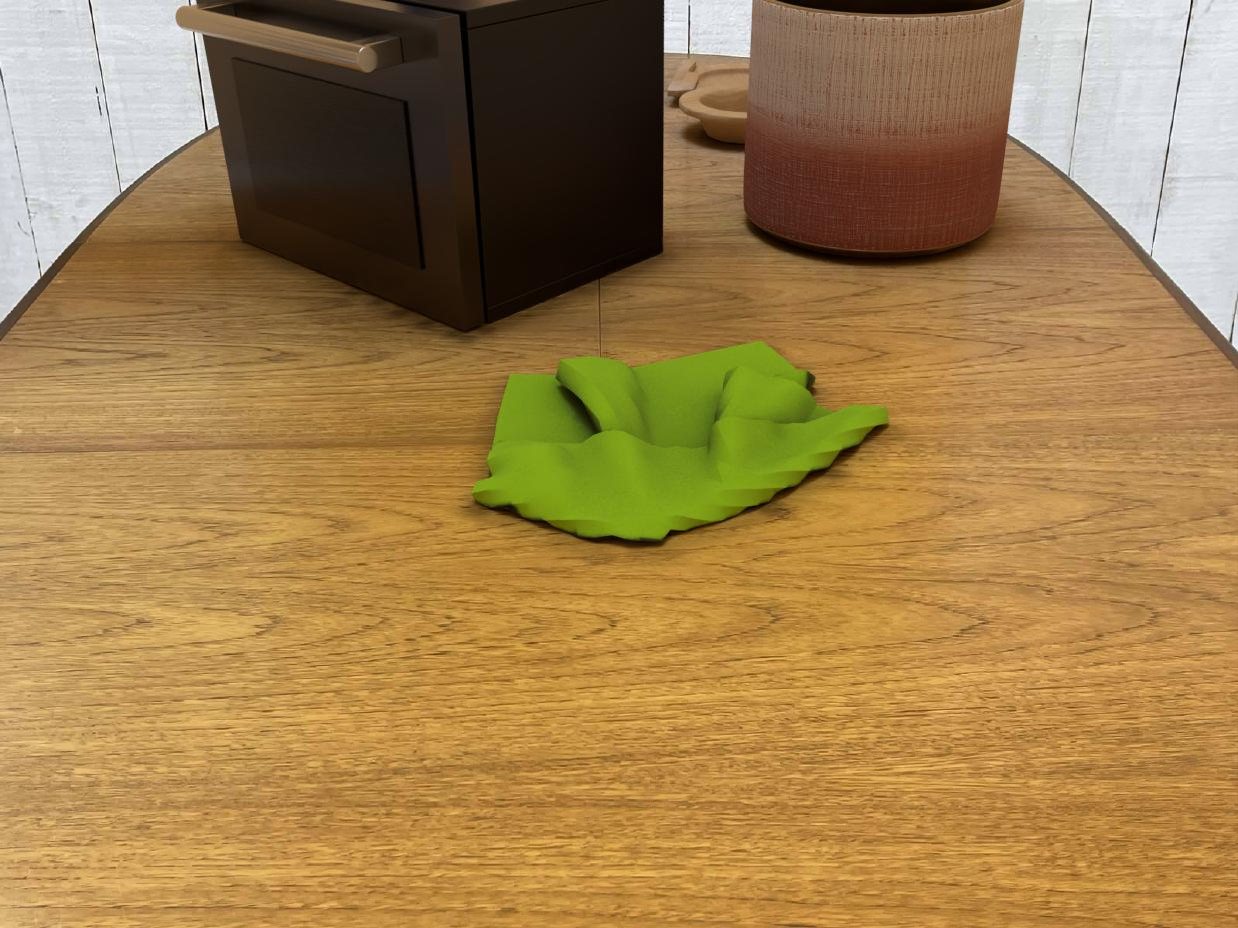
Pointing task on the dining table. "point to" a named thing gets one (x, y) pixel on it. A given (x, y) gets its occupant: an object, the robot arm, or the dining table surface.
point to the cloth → (661, 441)
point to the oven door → (350, 143)
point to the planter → (878, 122)
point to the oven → (561, 140)
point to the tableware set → (714, 97)
